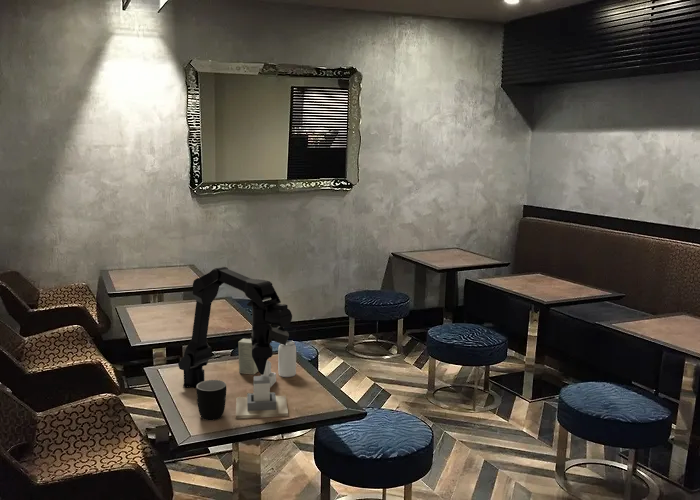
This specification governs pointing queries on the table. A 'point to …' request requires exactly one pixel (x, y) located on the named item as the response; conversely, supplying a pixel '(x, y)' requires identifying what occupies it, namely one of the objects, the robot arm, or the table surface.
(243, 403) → the board
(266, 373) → the white angled block
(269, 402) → the back box
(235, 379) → the table surface
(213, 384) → the mug
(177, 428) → the table surface
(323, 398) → the table surface
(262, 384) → the grey block
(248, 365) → the skincare box
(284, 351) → the can
